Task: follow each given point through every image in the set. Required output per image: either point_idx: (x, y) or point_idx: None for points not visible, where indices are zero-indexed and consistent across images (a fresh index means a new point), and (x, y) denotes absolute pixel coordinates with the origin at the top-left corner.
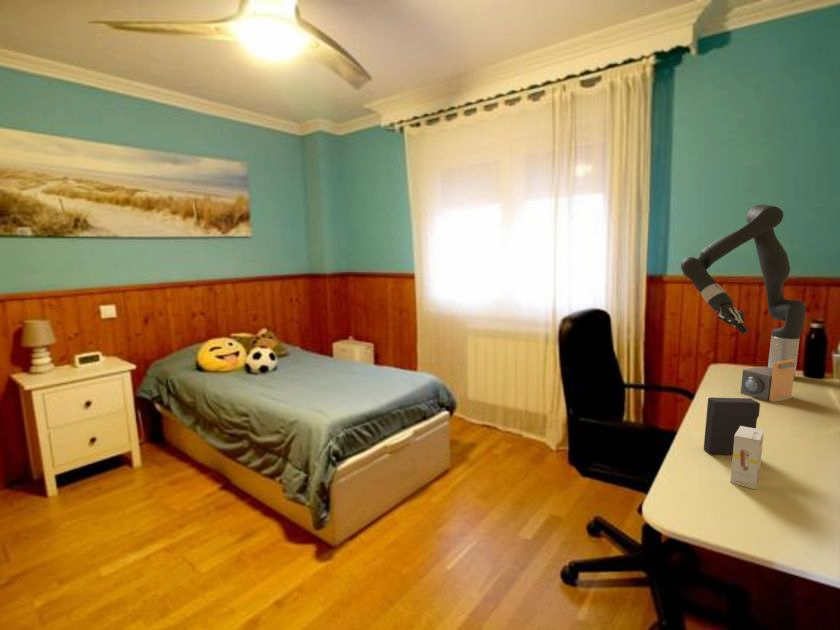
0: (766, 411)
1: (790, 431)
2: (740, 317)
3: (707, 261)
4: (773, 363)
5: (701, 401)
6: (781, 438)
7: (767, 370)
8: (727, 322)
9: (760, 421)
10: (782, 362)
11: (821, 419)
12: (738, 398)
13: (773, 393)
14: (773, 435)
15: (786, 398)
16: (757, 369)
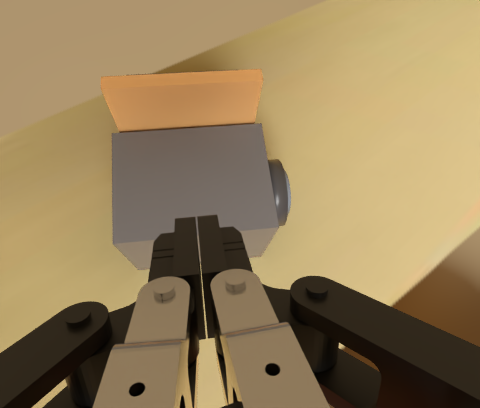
0: (317, 131)
1: (382, 40)
2: (125, 345)
3: None
4: (262, 83)
5: (441, 251)
6: (434, 27)
7: (178, 183)
8: (373, 369)
9: (398, 93)
10: (214, 73)
11: (235, 57)
12: None
13: None
14: (437, 39)
15: None
16: (206, 209)
